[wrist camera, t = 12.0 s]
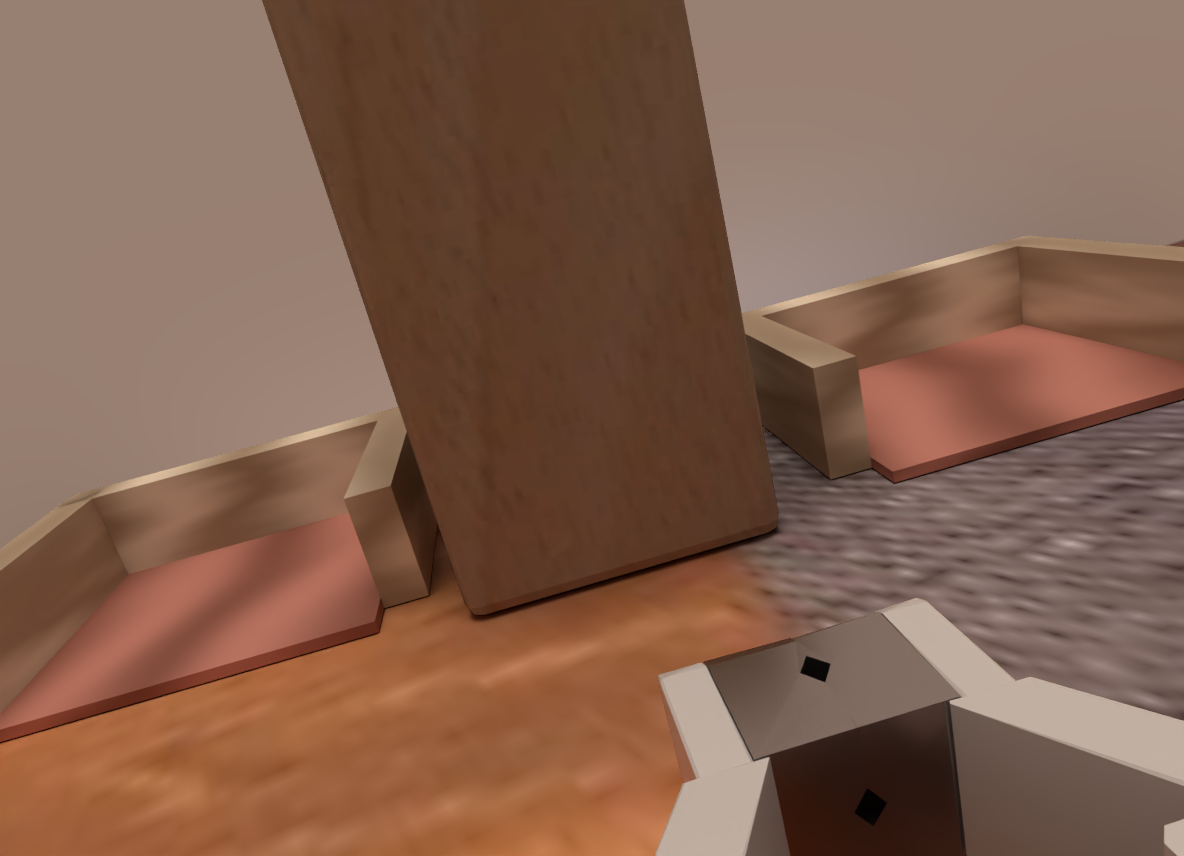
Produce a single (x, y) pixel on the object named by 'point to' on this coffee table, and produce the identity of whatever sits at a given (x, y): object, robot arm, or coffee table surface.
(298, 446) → the trap box
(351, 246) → the wooden block
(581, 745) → the coffee table surface
